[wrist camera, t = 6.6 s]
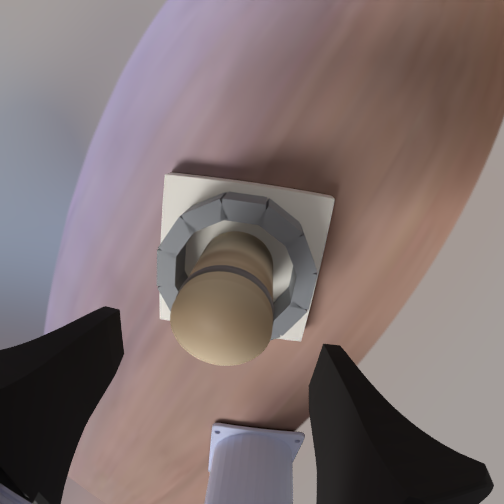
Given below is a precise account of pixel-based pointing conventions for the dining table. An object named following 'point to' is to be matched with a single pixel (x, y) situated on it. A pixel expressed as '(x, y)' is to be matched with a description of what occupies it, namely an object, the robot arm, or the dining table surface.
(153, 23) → the dining table surface
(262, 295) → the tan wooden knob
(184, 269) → the collar stand
